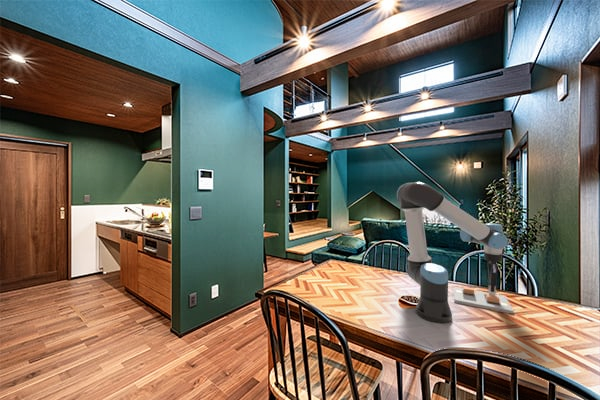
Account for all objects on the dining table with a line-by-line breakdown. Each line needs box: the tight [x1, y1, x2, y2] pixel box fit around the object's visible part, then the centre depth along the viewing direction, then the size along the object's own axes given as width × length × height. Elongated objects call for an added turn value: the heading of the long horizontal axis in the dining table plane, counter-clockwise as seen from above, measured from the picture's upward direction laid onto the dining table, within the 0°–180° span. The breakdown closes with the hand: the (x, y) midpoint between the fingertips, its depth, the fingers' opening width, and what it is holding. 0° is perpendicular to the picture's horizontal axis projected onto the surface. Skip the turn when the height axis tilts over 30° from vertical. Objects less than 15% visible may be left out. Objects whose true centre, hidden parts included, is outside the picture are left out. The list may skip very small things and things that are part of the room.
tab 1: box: [462, 286, 475, 295], centre depth 136 cm, size 3×5×2 cm, turn 58°
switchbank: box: [453, 286, 515, 315], centre depth 131 cm, size 20×24×2 cm
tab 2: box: [486, 295, 500, 303], centre depth 126 cm, size 3×5×2 cm, turn 58°
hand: (491, 296), depth 127 cm, fingers closed
